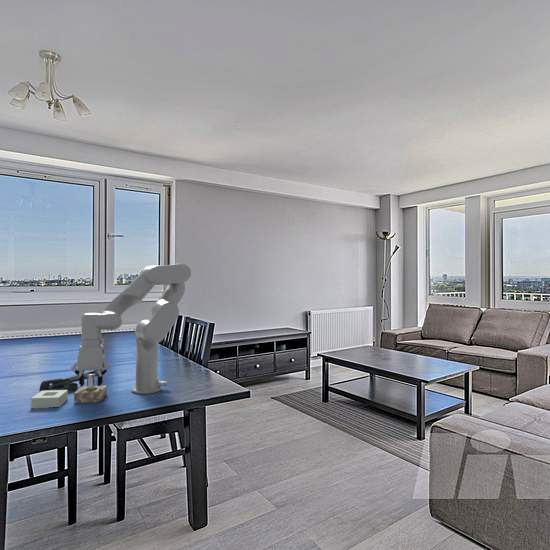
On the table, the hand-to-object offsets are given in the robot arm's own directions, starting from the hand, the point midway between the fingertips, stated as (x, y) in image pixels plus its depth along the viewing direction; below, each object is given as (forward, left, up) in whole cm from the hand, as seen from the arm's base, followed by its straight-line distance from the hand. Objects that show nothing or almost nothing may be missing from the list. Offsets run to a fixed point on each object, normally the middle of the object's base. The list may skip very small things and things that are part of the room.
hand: (90, 385), depth 169 cm
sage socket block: (+14, +5, -6) cm, 16 cm away
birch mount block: (0, 0, -6) cm, 6 cm away
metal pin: (0, 0, -6) cm, 6 cm away
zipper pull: (+12, -15, -6) cm, 20 cm away
